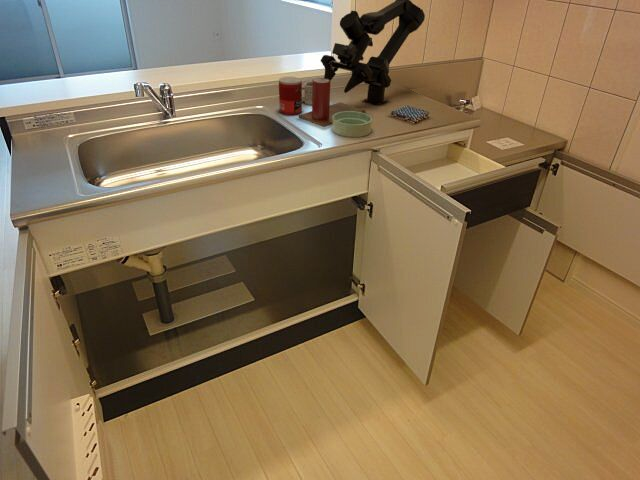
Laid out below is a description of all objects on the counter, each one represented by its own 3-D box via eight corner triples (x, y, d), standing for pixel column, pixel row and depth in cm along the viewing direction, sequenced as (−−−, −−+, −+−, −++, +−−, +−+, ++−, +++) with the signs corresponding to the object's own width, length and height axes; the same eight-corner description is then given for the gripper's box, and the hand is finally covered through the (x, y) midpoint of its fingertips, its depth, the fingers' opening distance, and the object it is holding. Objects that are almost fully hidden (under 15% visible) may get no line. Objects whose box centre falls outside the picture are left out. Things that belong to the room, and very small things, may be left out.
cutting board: (339, 106, 162) (340, 102, 161) (365, 114, 155) (365, 110, 154) (298, 119, 149) (298, 115, 148) (323, 129, 142) (324, 124, 141)
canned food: (299, 116, 152) (298, 83, 146) (276, 113, 153) (275, 81, 147) (304, 108, 158) (304, 77, 152) (282, 107, 159) (281, 75, 153)
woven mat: (388, 116, 153) (388, 110, 152) (405, 110, 160) (406, 104, 159) (412, 124, 148) (413, 118, 146) (430, 117, 154) (431, 111, 153)
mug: (321, 99, 167) (322, 81, 164) (322, 105, 162) (323, 87, 158) (295, 99, 167) (295, 81, 163) (295, 105, 161) (295, 86, 158)
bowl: (349, 121, 148) (350, 108, 146) (378, 131, 141) (380, 118, 139) (323, 130, 141) (324, 117, 138) (353, 142, 134) (354, 128, 131)
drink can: (324, 113, 150) (326, 77, 143) (332, 119, 146) (333, 81, 139) (309, 115, 148) (309, 78, 141) (316, 121, 144) (316, 83, 137)
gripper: (324, 28, 145) (302, 69, 145) (370, 37, 135) (346, 80, 135) (338, 50, 155) (317, 88, 154) (382, 59, 145) (359, 100, 144)
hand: (334, 89), depth 147 cm, fingers open, 9 cm apart
